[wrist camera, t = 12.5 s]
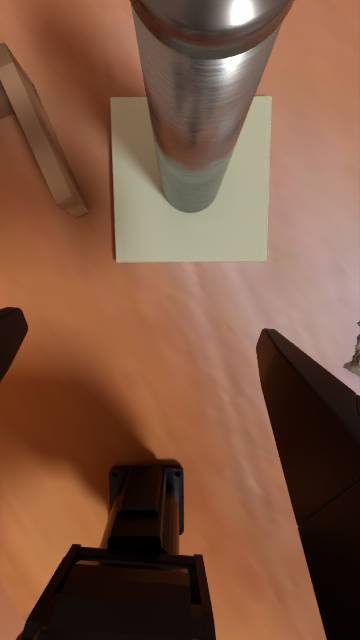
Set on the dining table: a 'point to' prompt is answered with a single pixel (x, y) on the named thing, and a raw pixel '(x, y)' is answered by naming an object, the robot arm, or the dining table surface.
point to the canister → (201, 85)
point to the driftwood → (355, 358)
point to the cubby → (38, 132)
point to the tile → (179, 227)
